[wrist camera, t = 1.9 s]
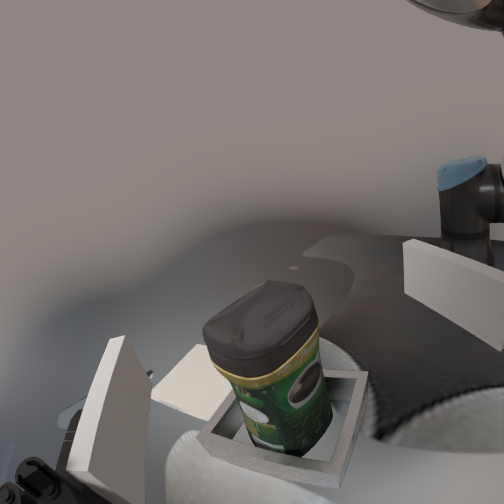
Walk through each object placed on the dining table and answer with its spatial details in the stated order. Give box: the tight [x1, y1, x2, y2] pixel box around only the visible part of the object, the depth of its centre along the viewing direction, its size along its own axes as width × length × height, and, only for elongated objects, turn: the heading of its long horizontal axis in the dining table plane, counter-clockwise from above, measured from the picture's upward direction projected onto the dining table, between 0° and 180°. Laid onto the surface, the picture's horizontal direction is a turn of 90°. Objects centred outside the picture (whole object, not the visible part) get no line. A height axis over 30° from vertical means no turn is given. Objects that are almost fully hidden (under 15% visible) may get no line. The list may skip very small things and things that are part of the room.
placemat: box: [151, 344, 232, 421], centre depth 39 cm, size 14×14×1 cm
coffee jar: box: [202, 280, 333, 457], centre depth 24 cm, size 10×8×19 cm
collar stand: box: [196, 369, 368, 489], centre depth 26 cm, size 13×15×4 cm
